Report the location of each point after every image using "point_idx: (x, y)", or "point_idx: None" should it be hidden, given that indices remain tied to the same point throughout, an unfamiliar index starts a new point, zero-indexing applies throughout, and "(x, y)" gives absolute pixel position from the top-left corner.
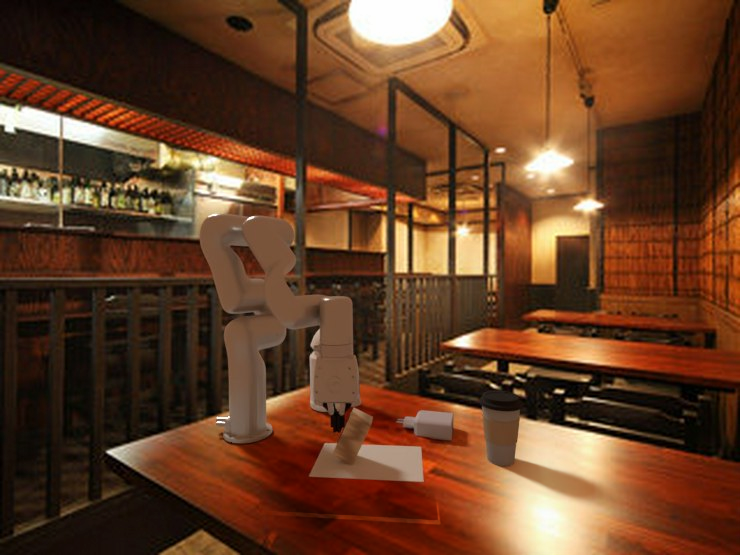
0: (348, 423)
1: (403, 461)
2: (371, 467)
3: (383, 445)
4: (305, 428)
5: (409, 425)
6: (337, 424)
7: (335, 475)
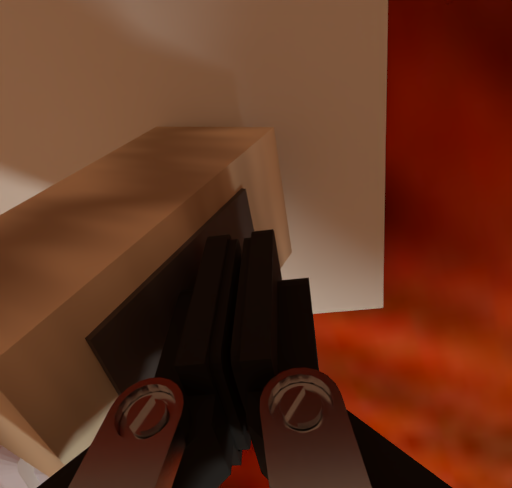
0: (69, 285)
1: None
2: (44, 126)
3: None
4: (504, 406)
5: None
6: (224, 286)
7: None
